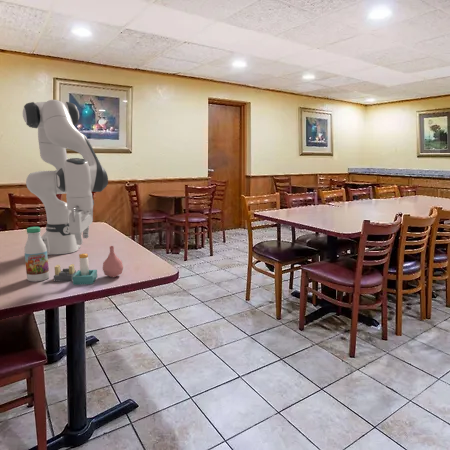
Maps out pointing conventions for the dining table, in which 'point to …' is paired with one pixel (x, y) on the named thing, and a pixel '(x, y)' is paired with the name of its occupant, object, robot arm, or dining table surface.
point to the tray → (85, 278)
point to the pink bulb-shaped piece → (112, 264)
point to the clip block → (64, 273)
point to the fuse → (84, 264)
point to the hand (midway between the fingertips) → (82, 241)
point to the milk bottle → (36, 256)
